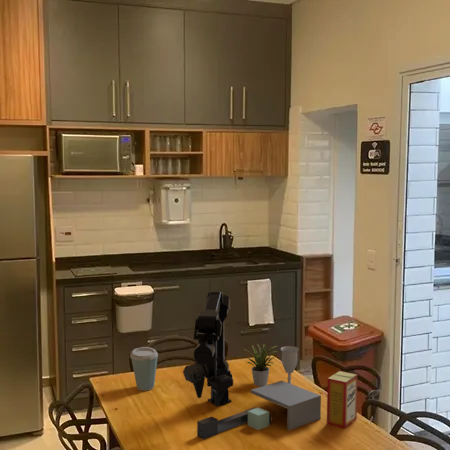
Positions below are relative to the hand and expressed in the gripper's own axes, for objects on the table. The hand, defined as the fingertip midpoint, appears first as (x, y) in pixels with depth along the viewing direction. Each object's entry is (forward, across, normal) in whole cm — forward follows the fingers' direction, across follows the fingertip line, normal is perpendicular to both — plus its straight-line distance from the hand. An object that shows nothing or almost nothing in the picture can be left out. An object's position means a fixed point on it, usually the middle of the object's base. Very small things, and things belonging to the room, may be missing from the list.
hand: (208, 401), depth 197 cm
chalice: (+11, -8, +45) cm, 47 cm away
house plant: (+11, -23, +46) cm, 52 cm away
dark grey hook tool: (+11, +3, +9) cm, 15 cm away
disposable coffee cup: (+11, -49, +7) cm, 51 cm away
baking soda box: (+11, +20, +42) cm, 48 cm away
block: (+11, +5, +17) cm, 21 cm away
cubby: (+11, +5, +30) cm, 32 cm away
